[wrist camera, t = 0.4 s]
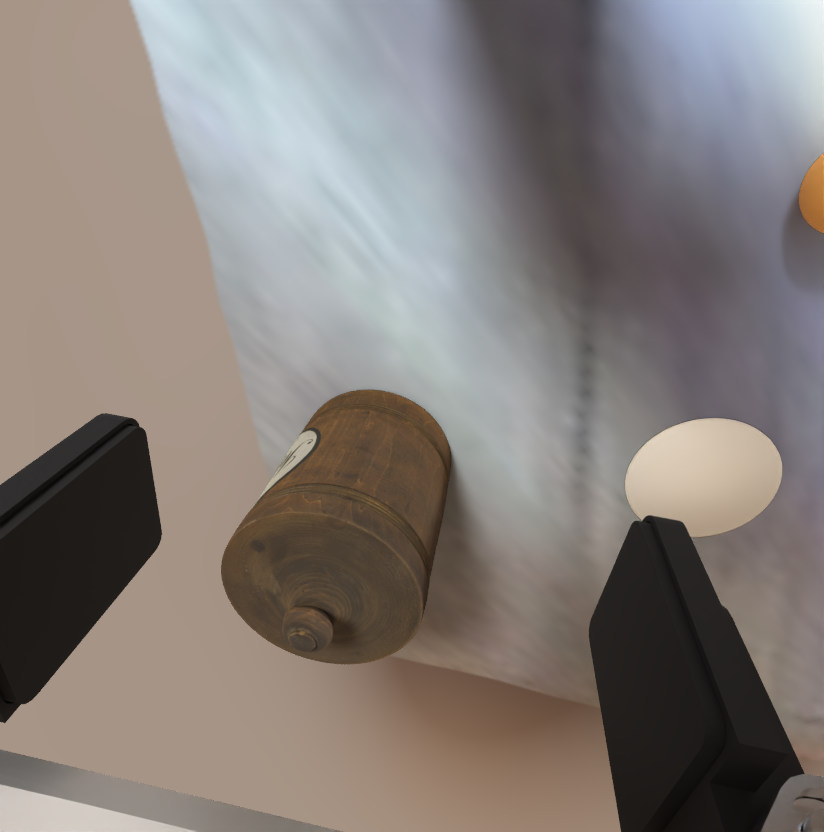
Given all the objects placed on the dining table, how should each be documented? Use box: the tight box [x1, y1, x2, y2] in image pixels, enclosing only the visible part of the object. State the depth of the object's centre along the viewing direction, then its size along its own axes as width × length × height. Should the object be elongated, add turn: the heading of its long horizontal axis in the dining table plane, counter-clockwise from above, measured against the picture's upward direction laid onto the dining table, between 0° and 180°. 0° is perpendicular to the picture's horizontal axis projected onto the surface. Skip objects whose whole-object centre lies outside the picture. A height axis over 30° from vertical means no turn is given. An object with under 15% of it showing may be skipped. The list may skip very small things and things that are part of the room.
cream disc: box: [625, 418, 782, 537], centre depth 48 cm, size 13×13×1 cm
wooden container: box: [221, 390, 451, 664], centre depth 43 cm, size 15×15×22 cm
